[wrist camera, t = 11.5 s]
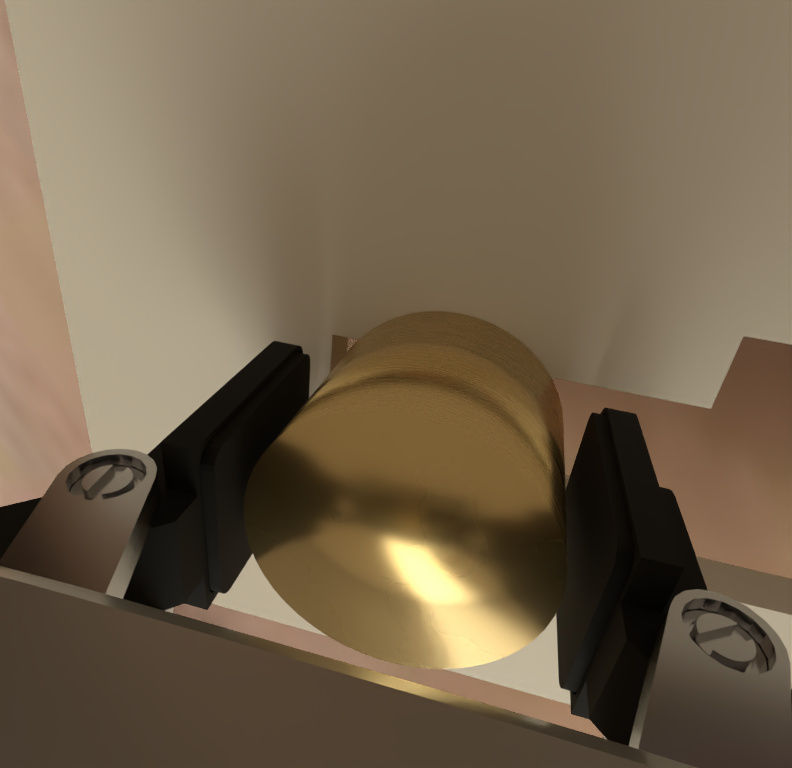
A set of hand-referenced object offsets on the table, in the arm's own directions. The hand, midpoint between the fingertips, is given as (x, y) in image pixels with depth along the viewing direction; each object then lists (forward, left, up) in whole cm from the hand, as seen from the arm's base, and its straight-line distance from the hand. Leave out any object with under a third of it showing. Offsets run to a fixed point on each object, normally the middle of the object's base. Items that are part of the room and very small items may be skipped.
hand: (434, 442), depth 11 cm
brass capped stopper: (0, 0, -7) cm, 7 cm away
